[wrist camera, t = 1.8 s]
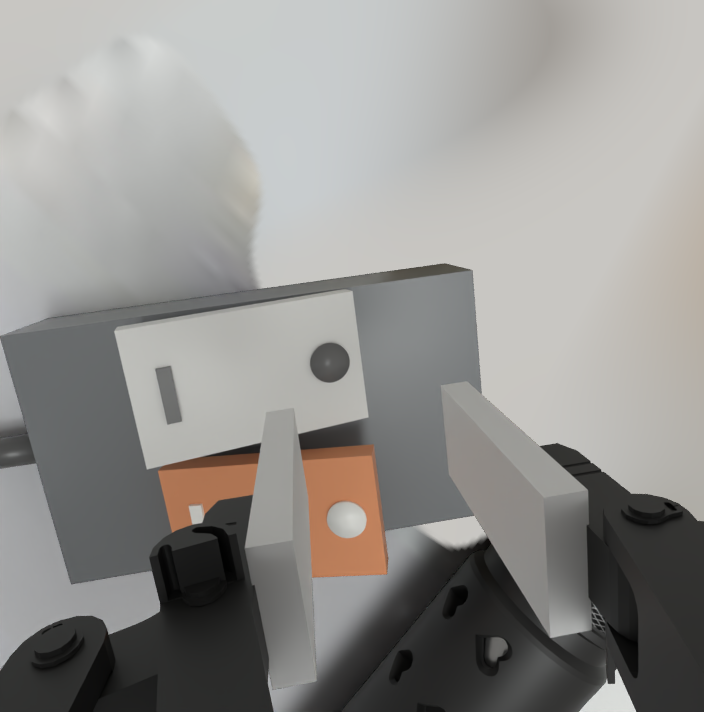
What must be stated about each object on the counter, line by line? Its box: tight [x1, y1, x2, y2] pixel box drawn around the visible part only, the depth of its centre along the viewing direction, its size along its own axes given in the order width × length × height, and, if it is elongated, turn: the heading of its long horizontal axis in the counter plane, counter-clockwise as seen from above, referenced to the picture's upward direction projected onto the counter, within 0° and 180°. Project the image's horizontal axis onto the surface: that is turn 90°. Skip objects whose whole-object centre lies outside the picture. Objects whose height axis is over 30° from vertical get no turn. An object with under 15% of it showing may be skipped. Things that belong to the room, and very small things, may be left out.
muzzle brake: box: [341, 544, 607, 712], centre depth 32 cm, size 10×28×10 cm, turn 143°
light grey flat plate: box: [114, 289, 369, 469], centre depth 24 cm, size 10×6×1 cm, turn 97°
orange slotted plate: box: [158, 444, 388, 577], centre depth 26 cm, size 10×6×1 cm, turn 97°
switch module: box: [0, 264, 482, 584], centre depth 29 cm, size 28×13×6 cm, turn 97°
